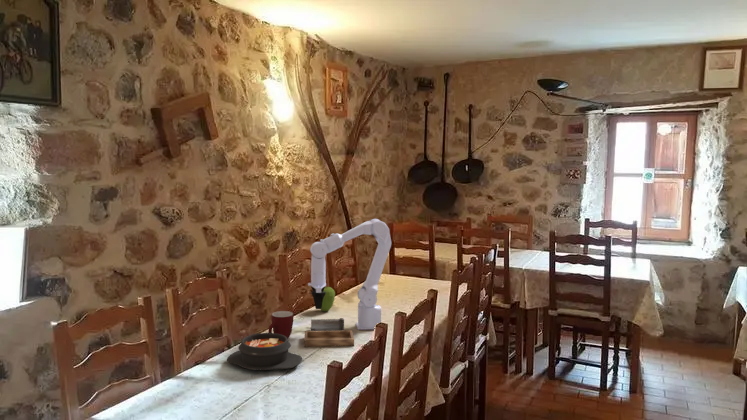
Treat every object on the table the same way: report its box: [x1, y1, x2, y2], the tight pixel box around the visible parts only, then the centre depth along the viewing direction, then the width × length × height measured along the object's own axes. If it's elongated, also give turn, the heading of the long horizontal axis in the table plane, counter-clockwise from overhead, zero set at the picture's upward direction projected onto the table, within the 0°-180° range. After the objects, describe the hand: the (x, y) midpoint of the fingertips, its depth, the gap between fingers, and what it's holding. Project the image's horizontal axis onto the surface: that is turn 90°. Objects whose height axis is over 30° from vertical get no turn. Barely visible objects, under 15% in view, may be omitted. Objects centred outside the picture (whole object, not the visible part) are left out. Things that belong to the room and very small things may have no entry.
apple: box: [320, 285, 336, 312], centre depth 239 cm, size 9×8×12 cm
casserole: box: [226, 332, 303, 372], centre depth 177 cm, size 25×19×8 cm
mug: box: [267, 310, 294, 340], centre depth 199 cm, size 10×8×10 cm
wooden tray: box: [304, 329, 355, 348], centre depth 199 cm, size 18×10×3 cm, turn 97°
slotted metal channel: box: [310, 317, 345, 331], centre depth 213 cm, size 13×2×4 cm, turn 97°
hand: (318, 306), depth 213 cm, fingers open, 7 cm apart
